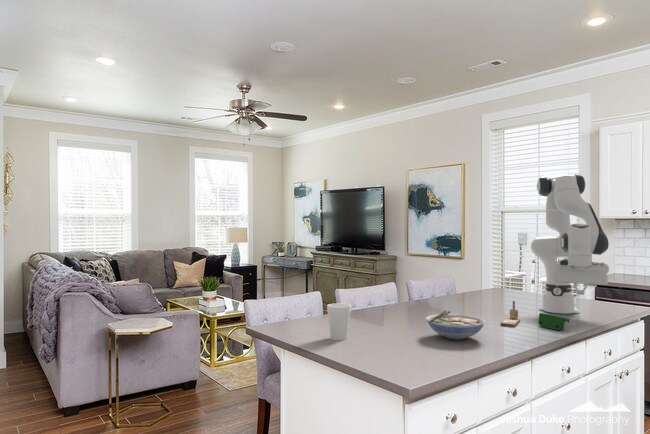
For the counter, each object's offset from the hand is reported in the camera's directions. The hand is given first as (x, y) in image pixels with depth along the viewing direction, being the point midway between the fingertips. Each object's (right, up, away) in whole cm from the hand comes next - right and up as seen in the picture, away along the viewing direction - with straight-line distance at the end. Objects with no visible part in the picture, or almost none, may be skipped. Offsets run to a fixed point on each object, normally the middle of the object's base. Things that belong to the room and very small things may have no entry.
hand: (580, 294), depth 197 cm
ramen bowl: (-57, -15, -13) cm, 61 cm away
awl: (-20, -16, +21) cm, 33 cm away
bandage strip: (-25, -16, +13) cm, 32 cm away
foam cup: (-103, -15, -14) cm, 105 cm away
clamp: (-9, -16, +5) cm, 19 cm away
